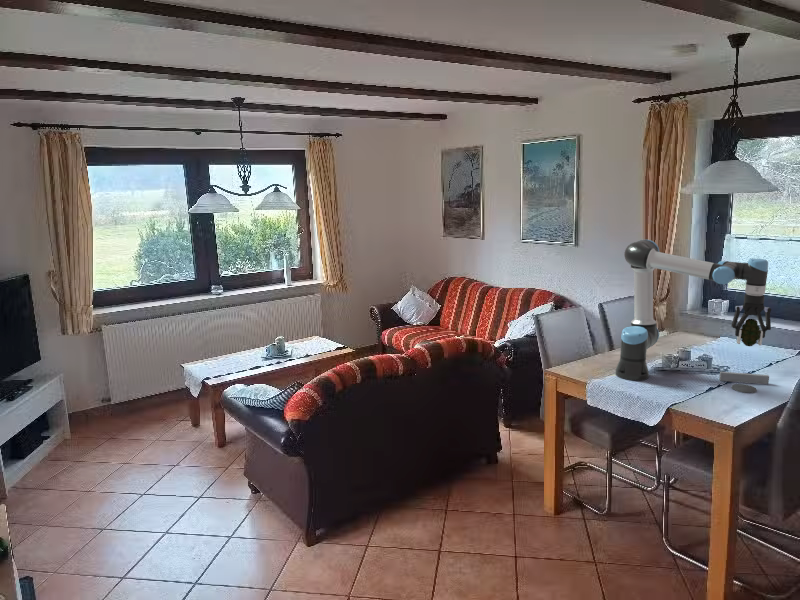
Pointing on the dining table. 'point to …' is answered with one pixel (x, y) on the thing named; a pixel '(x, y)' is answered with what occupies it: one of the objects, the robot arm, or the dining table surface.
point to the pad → (744, 388)
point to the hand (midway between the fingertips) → (748, 343)
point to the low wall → (744, 377)
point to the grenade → (750, 332)
